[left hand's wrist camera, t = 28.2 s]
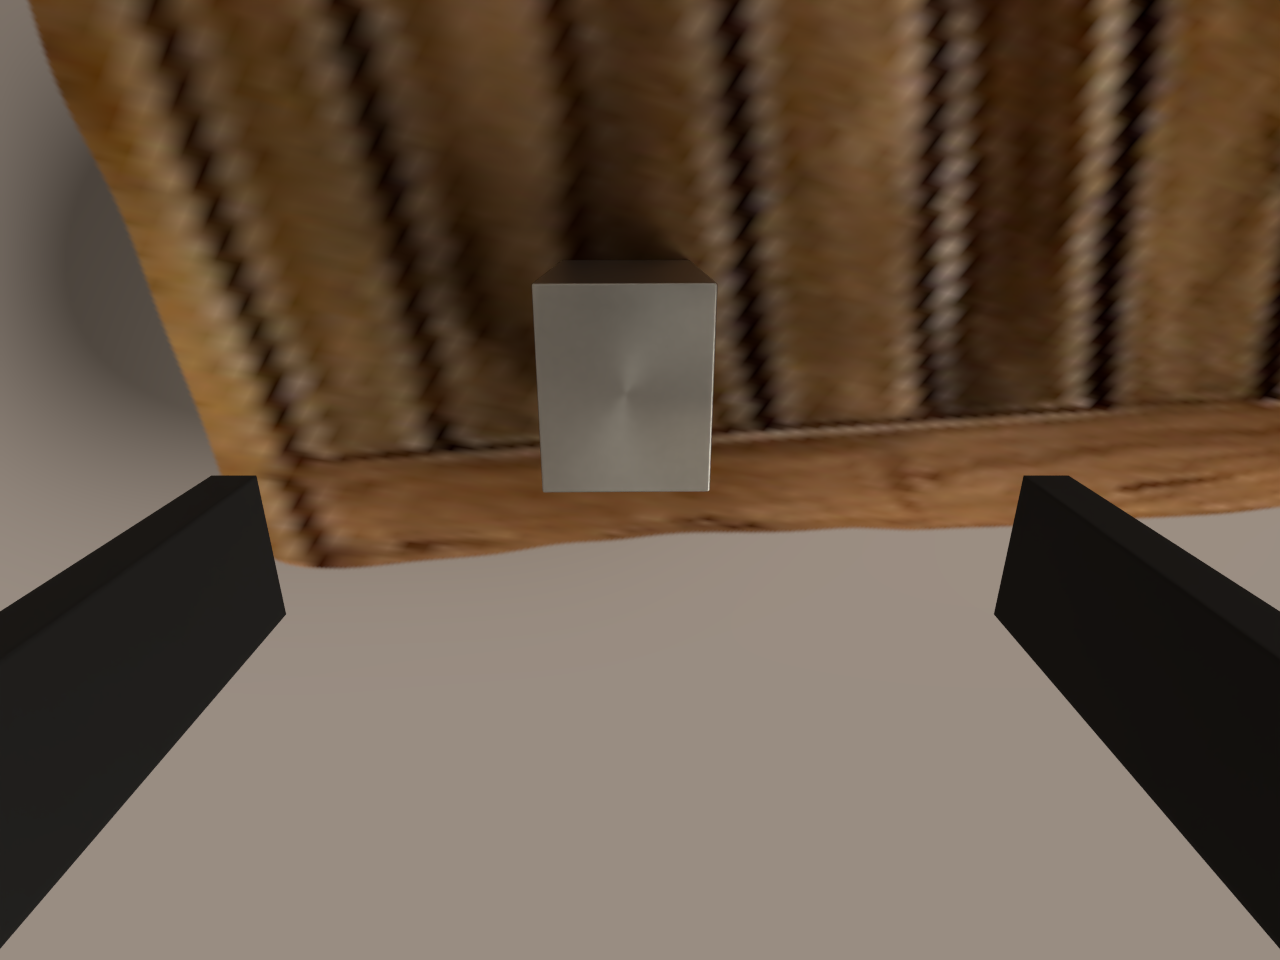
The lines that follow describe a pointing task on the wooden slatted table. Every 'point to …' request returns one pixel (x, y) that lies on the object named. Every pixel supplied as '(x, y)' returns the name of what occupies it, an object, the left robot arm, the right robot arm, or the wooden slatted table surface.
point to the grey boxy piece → (625, 375)
